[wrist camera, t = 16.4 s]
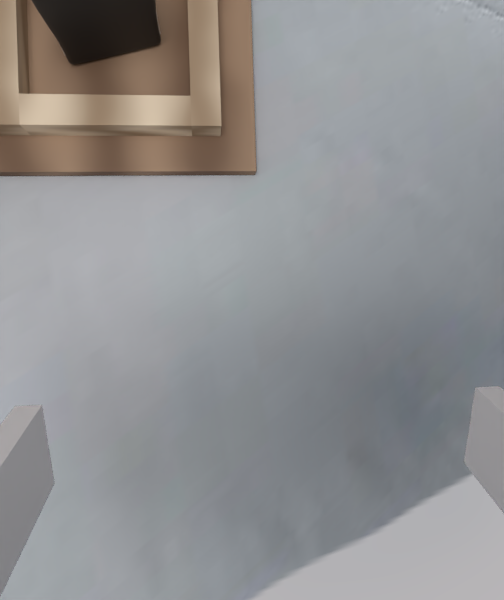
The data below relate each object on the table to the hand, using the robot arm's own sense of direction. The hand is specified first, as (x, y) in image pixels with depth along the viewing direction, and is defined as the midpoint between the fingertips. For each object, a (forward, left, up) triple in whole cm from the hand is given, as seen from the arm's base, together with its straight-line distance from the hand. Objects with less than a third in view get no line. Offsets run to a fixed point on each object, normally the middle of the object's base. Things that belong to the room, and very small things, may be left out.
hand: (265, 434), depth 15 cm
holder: (+8, -23, -20) cm, 32 cm away
